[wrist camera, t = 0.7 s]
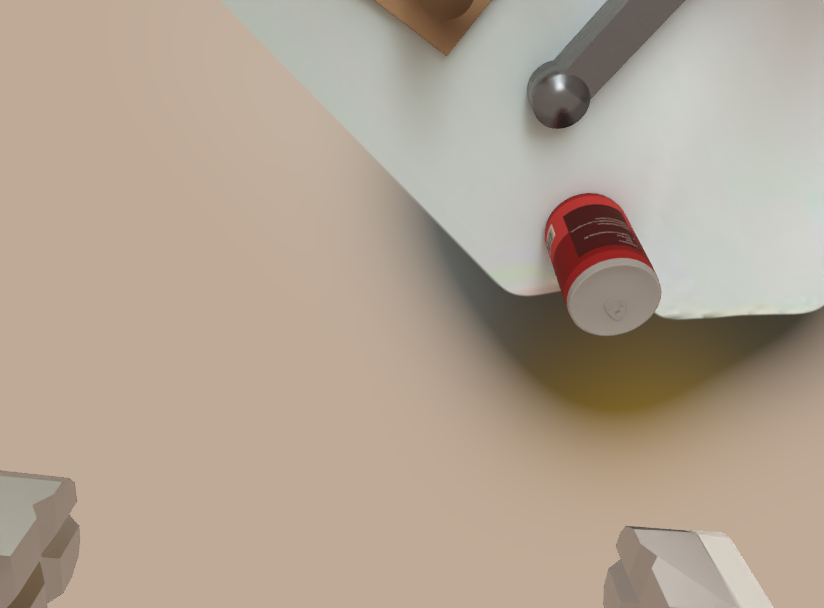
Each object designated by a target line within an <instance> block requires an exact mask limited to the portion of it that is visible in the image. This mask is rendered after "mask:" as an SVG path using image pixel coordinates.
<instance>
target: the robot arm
mask: <svg viewBox="0 0 824 608" xmlns="http://www.w3.org/2000/svg"><path fill="white" fill-rule="evenodd" d="M76 502H77V496H76V489H75V482H73V481H72V480H71V479H70V478H64V477H55V476H46V475H36V474H28V473H18V472H8V471H0V608H47V603H49V602H50V601H52V600H53V599H55V598H56V597H58V596H60V595H61V594H62V593H63V592H64V591H65V589H66V587H67V585H68V583H69V581H70V579H71V577H72V575H73V571H74V568H75V565H76V562H77V559H78V554H79V545H80V531H79V525H78V524H77V523H76V522H75V521H74V519H73V518H72V517H71V516H70V515H69V513H70V512H71V510H72V508H73V507H74V505H75V503H76ZM616 548H617V550H618V553H619V555H620V558H621V559H620V560H619V561H618V562H616V563H615V564H614V565H613V566H611V567H610V568H609V569H608V573H607V577H606V580H605V584H604V602H603V605H604V608H774V607H773V606H772V604H771V602H770V601H769V599H768V598H767V596H766V595H765V593H764V591H763V590H762V588H761V587H760V585H759V583H758V582H757V580H756V579H755V577H754V576H753V574H752V572H751V571H750V569H749V568H748V566H747V564H746V563H745V561H744V560H743V558H742V557H741V555H740V553H739V552H738V550H737V548H736V547H735V545H734V544H733V542H732V541H731V539H730V538H729V537H728V536H727V535H725V534H724V533H723V532H711V531H695V530H690V531H684V530H671V529H659V528H658V529H657V528H647V527H633V526H625V527H624V529H623V530H622V531H621V533H620V535H619V538H618V541H617V544H616Z"/></svg>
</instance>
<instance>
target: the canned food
mask: <svg viewBox="0 0 824 608" xmlns="http://www.w3.org/2000/svg"><path fill="white" fill-rule="evenodd" d="M545 242H546V246H547V249H548V252H549V255H550V258H551V261H552V264H553V267H554V270H555V273H556V276H557V280H558V283H559V286H560V289H561V292H562V295H563V298H564V301H565V304H566V306H567V309H568V312H569V314H570V316H571V318H572V320H573V321H574V322H575V324H576V325H577V326H578V327H579V328H581V329H582V330H584V331H586V332H588V333H591V334H594V335H599V336H612V335H619V334H622V333H626V332H628V331H631V330H633V329H635V328H637V327H638V326H640V325H642V324H643V323H644V322H645V321H647V320H648V319H649V318H650V317H651V316H652V314H653V313H654V312H655V310H656V308H657V307H658V305H659V302H660V299H661V287H660V283H659V280H658V277H657V275H656V273H655V271H654V269H653V267H652V265H651V263H650V261H649V259H648V257H647V255H646V253H645V251H644V249H643V248H642V246H641V244H640V242H639V240H638V238H637V236H636V234H635V232H634V231H633V229H632V227H631V225H630V223H629V221H628V219H627V217H626V215H625V213H624V212H623V210H622V209H621V207H620V206H619V205H618V204H616V203H615V202H614V201H612V200H611V199H609V198H607V197H605V196H603V195H599V194H592V193H587V194H580V195H577V196H573V197H571V198H569V199H567V200H565V201H564V202H562V203H561V204H560V205H559V206H558V207H557V208H556V209H555V210H554V211H553V212H552V214H551V215H550V217H549V219H548V222H547V226H546V231H545Z"/></svg>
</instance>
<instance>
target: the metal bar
mask: <svg viewBox="0 0 824 608" xmlns="http://www.w3.org/2000/svg"><path fill="white" fill-rule="evenodd" d="M684 1H685V0H607V1H606V3H605V4H604V5H603V6H602V7H601V8H600V9H599V10H598V11H597V13H596V14H595V15H594V16H593V17H592V18H591V19H590V20H589V22H588V23H587V24H586V25H585V26H584V27H583V28H582V29H581V30H580V32H579V33H578V34H577V35H576V36H575V37H574V38H573V39H572V41H571V42H570V43H569V44H568V45H567V46H566V47H565V48H564V49H563V51H562V52H561V53H560V54H559V55H558V56H557V57H556V58H555V60H554V61H550V62H547V63H545V64H543V65H541V66H540V67H539V68H537V69H536V70H535V72H534V73H533V74H532V76H531V77H530V80H529V82H528V86H527V94H528V98H529V101H530V103H531V105H532V108H533V110H534V113H535V115H536V117H537V119H538V120H539V121H540V122H541V123H542V124H543V125H545V126H547V127H550V128H556V129H559V128H565V127H569V126H571V125H573V124H575V123H576V122H577V121H579V120H580V119H581V118H582V117H583V116H584V114H585V113H586V111H587V109H588V107H589V103H590V99H591V98H592V97H593V96H594V95H595V94H596V93H597V91H598V90H599V89H600V88H601V87H602V86H603V85H604V84H605V83H606V82H607V81H608V80H609V79H610V78H611V77H612V76H613V75H614V74H615V73H616V72H617V71H618V70H619V69H620V68H621V66H622V65H623V64H624V63H625V62H626V61H627V60H628V59H629V58H630V57H631V56H632V55H633V54H634V53H635V52H636V51H637V50H638V49H639V48H640V47H641V46H642V45H643V44H644V42H645V41H646V40H647V39H648V38H649V37H650V36H651V35H652V34H653V33H654V32H655V31H656V30H657V29H658V28H659V27H660V26H661V25H662V24H663V23H664V22H665V21H666V20H667V19H668V17H669V16H670V15H671V14H672V13H673V12H674V11H675V10H676V9H677V8H678V7H679V6H680V5H681V4H682V3H683V2H684Z"/></svg>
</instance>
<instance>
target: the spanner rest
mask: <svg viewBox="0 0 824 608" xmlns="http://www.w3.org/2000/svg"><path fill="white" fill-rule="evenodd" d="M375 1H376V2H378V3H379V4H380V5H381V6H383V7H384V8H385V9H387V10H388V11H389V12H390V13H392V14H393V15H394V16H396V17H397V18H398V19H399V20H401V21H402V22H403V23H405V24H406V25H407V26H409V27H410V28H411V29H412V30H414V31H415V32H416V33H418V34H419V35H420V36H421V37H423V38H424V39H425V40H427V41H428V42H429V43H430V44H432V45H433V46H434V47H436V48H437V49H438V50H439V51H441V52H442V53H443V54H445V55H446V56H447V55H448V54H449V53H450V51H451V50H452V49H453V48H454V46H455V45H456V44H457V43H458V41H459V40H460V39H461V37H462V36H463V35H464V34H465V32H466V31H467V30H468V29H469V27H470V26H471V25H472V24H473V22H474V21H475V20H476V19H477V17H478V16H479V15H480V14H481V12H482V11H483V10H484V9H485V7H486V6H487V5H488V4H489V2H490V1H491V0H375Z"/></svg>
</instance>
